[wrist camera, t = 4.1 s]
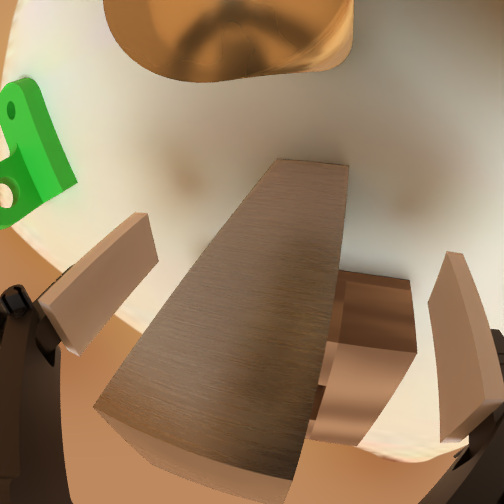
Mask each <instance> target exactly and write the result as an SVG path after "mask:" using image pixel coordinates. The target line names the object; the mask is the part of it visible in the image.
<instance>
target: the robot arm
mask: <svg viewBox="0 0 504 504" xmlns="http://www.w3.org/2000/svg"><path fill="white" fill-rule="evenodd" d="M158 262H159V260H158V256H157V252H156V248H155V244H154V240H153V235H152V231H151V227H150V222H149V218H148V213H138V212H135V213H134V214H132V215H131V216H130V217H129V218H127V219H126V220H125V221H124V222H123V223H121V224H120V225H119V226H118V227H117V228H115V229H114V230H113V231H112V232H111V233H110V234H108V235H107V236H106V237H105V238H104V239H103V240H101V241H100V242H99V243H98V244H97V245H96V246H95V247H93V248H92V249H91V250H90V251H89V252H88V253H87V254H86V255H84V256H83V257H82V258H81V259H80V260H79V261H78V262H77V263H76V264H74V265H72V266H71V267H69V268H68V269H67V270H66V271H65V272H64V273H63V274H62V276H60V277H59V278H58V279H56V282H53V283H52V284H51V286H49V287H48V288H47V289H46V290H45V291H44V292H43V293H42V294H41V295H40V296H39V297H38V298H37V299H36V300H35V301H34V302H33V303H32V301H31V299H30V298H29V296H28V294H27V292H26V290H25V288H24V287H23V286H22V285H14V286H11V287H9V288H8V289H7V290H5V291H4V292H3V293H2V294H1V296H0V504H73V503H72V501H71V498H70V494H69V488H68V483H67V476H66V469H65V461H64V452H63V442H62V429H61V410H60V359H61V351H60V347H59V346H58V344H59V343H60V342H61V341H62V342H63V344H64V345H65V347H66V348H67V350H68V351H70V352H72V353H74V354H76V355H78V356H81V354H82V353H83V352H84V350H85V349H86V348H87V346H88V345H89V344H90V343H91V342H92V340H93V339H94V338H95V337H96V335H97V334H98V333H99V331H100V330H101V329H102V328H103V326H104V325H105V324H106V323H107V321H108V320H109V319H110V318H111V317H112V315H113V314H114V313H115V312H116V311H117V309H118V308H119V307H120V306H121V305H122V303H123V302H124V301H125V300H126V299H127V297H128V296H129V295H130V294H131V293H132V292H133V290H134V289H135V288H136V287H137V286H138V285H139V283H140V282H141V281H142V280H143V279H144V278H145V276H146V275H147V274H148V273H149V272H150V271H151V270H152V268H153V267H154V266H155V265H156V264H157V263H158ZM428 308H429V314H430V320H431V326H432V333H433V340H434V348H435V356H436V366H437V377H438V390H439V409H440V443H455V442H460V441H462V440H463V439H464V438H465V437H466V436H468V435H469V444H468V445H467V446H466V447H464V448H463V449H462V450H460V451H459V452H458V453H457V454H456V455H454V458H456V457H458V458H457V459H456V460H455V462H454V463H453V464H452V465H451V467H450V468H449V469H448V470H447V472H446V473H445V474H444V475H443V476H442V478H441V479H440V480H439V481H438V482H437V484H436V485H435V486H434V487H433V488H432V489H431V491H429V493H428V494H427V495H426V496H425V497H424V498H423V499H422V500H421V501H420V502H419V503H418V504H504V336H503V335H502V333H501V332H500V331H499V330H496V329H490V327H489V323H488V320H487V317H486V314H485V311H484V308H483V305H482V302H481V299H480V296H479V294H478V291H477V288H476V286H475V283H474V280H473V278H472V275H471V273H470V270H469V268H468V265H467V263H466V261H465V258H464V256H463V254H461V253H455V252H449V251H447V252H446V255H445V258H444V261H443V264H442V267H441V269H440V272H439V275H438V278H437V280H436V283H435V286H434V288H433V291H432V293H431V296H430V298H429V301H428Z"/></svg>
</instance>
